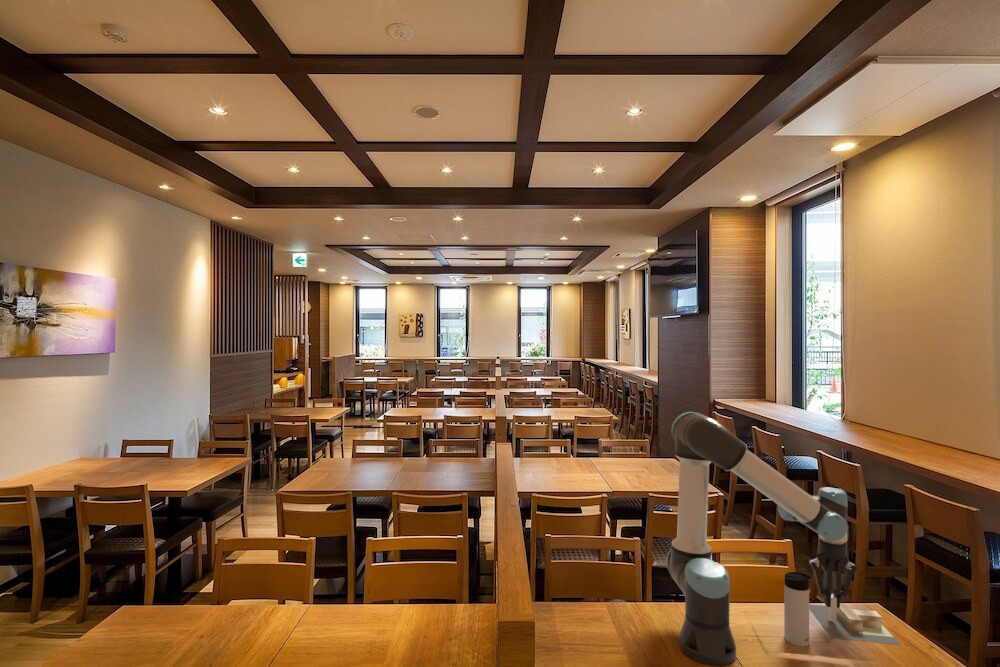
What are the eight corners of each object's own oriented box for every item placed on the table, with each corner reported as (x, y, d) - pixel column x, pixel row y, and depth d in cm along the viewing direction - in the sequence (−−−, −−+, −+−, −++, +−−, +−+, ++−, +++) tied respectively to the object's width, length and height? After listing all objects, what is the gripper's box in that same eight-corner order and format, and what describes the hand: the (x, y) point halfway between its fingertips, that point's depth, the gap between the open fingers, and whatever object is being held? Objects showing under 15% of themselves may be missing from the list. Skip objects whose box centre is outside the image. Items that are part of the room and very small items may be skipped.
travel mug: (813, 651, 151) (813, 580, 151) (788, 648, 152) (788, 578, 152) (806, 639, 157) (805, 570, 157) (781, 636, 158) (781, 568, 158)
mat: (831, 642, 156) (831, 637, 156) (806, 607, 175) (806, 604, 175) (901, 649, 152) (901, 644, 152) (867, 613, 172) (867, 609, 172)
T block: (849, 631, 159) (849, 619, 159) (835, 613, 169) (835, 602, 169) (887, 634, 157) (887, 622, 157) (870, 617, 167) (870, 605, 167)
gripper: (813, 542, 162) (813, 621, 162) (861, 546, 160) (861, 626, 160) (804, 533, 170) (804, 608, 170) (850, 537, 167) (850, 613, 167)
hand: (832, 617), depth 165 cm, fingers closed
